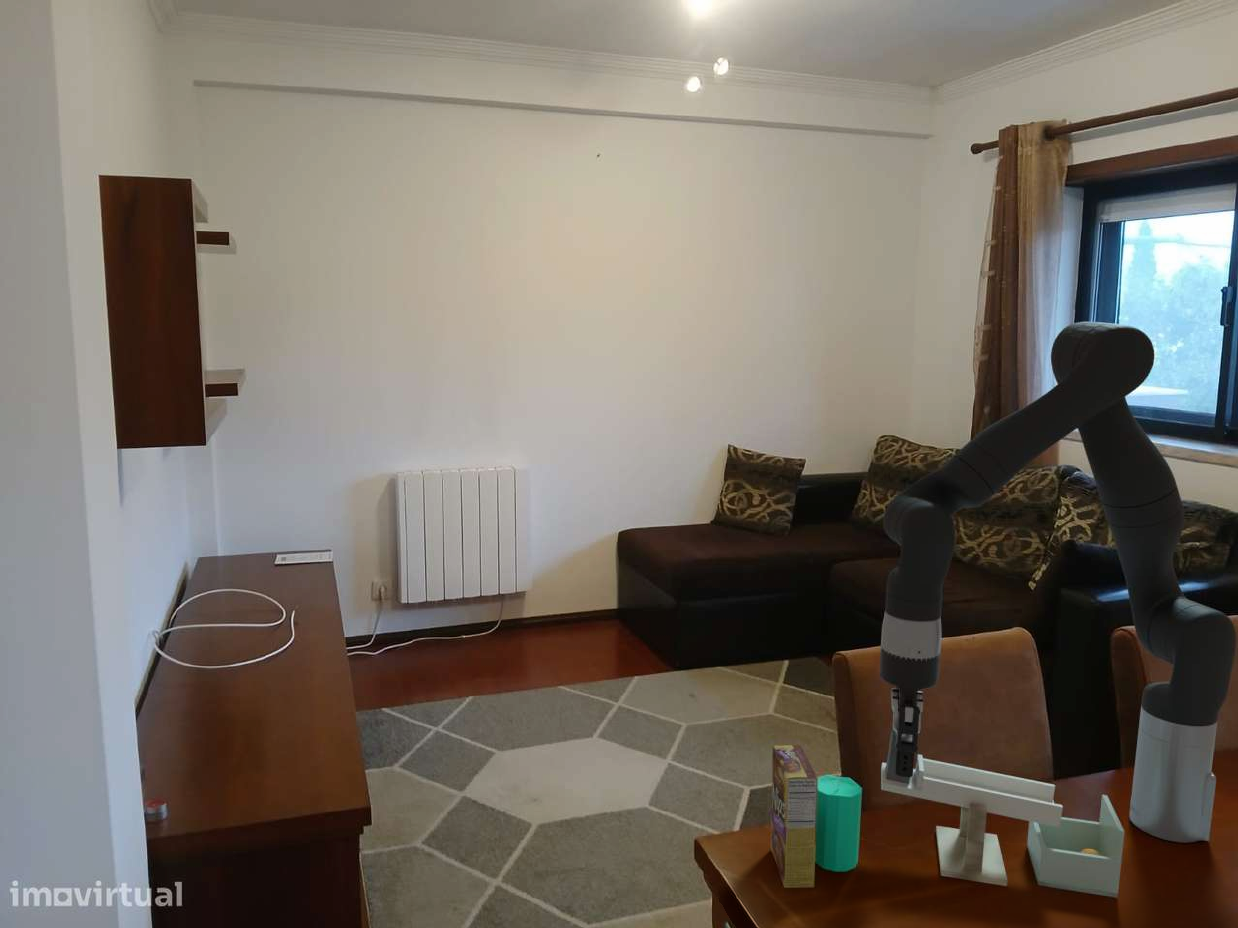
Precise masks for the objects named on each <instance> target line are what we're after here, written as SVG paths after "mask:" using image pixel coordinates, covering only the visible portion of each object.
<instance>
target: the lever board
mask: <svg viewBox="0 0 1238 928" xmlns="http://www.w3.org/2000/svg"><path fill="white" fill-rule="evenodd" d="M896 735H897V733H896V732H895V731H894V730H893V726H892V727H891V731H890V737H889V743H888V744H889V745H888V751H887V758H886V760H887V761H886V762H882V763H881V769H880V774H881V776H880V778H881V779H880V780H881V782H880V785H881V786H880V788H881V789H880V790H881V791H886V792H890V793H895V794H899V795H905V796H908V797H914V798H919V799H923V800H927V801H928V800H929V801H933V802H937V803H943V804H947V805H952V806H956V807H960V808H961V807H965V808H969V803H974V804H981V805H986V808H987V813H988V814H989V813H990V814H994V815H999V816H1003V817H1007V818H1013V819H1017V820H1023V821H1027V822H1029V821H1031V822H1036V823H1040V824H1045V825H1050V826H1055V827H1059V826H1060V820H1061V817H1062V815H1063V814H1062V813H1063V809H1064V807H1063V804H1059V803H1055V801H1054V796H1055V795H1054V794H1055V791H1056V790H1055V789H1056V785H1055V784H1052V783H1048V782H1044V781H1043V782H1042V781H1037V780H1033V779H1027V778H1023V777H1017V776H1013V775H1008V774H1002V773H997V772H994V771H988V770H984V769H979V768H973V767H969V766H963V765H958V764H954V763H948V762H943V761H939V760H935V759H934V760H933V759H928V758H923V754H917V758H916V763H915V764H916V765H915V768H913V776H912V777H902V776H897V775H896V773H895V766H896V750H897V749H896V746H895V742H896ZM901 740H905V741H912V735H910V734H902V736H901Z"/></svg>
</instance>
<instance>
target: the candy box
mask: <svg viewBox="0 0 1238 928" xmlns="http://www.w3.org/2000/svg"><path fill="white" fill-rule="evenodd" d="M771 761H772V762H771V763H772V766H771V767H772V769H771V770H772V775H771V776H772V777H771V817H770V818H771V819H770V822H771V825H770V826H771V827H770V836H771V837H770V850H771V853H772V855H773V858H774V861H775V863H776V867H777V869H778V874H779V875H780V878H781V882H782V885H783V888H784V889H806V888H807V889H812V888H814V887H815V876H816V875H815V874H816V873H815V868H816V863H815V849H816V819H817V787H818V779H819V777H818V776H817V773H816V772H815V770H814V769H813V767H812V764H811V763H810V761H809V759H808V757H807V755H806V753H805V750H804V748H803V747H802V745H801V744H798V745H796V744H795V745H794V744H792V745H788V744H787V745H773V746H772V760H771Z"/></svg>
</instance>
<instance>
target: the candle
mask: <svg viewBox="0 0 1238 928" xmlns="http://www.w3.org/2000/svg"><path fill="white" fill-rule="evenodd" d="M862 793H863V787H861V786H860V785H859V784H858V783H857V782H855V781H854V780H853V779H851V778H850V777H843V776H841V774H838V776H834V775H829V774H825V775H823V776H822V777H820V778H819V777H818V787H817V819H816V849H815V864H817V865H818V866H819V867H821V868H823V869H824V870H828V871H832V872H848V871H851V870H853V869H855V868H856V867H857V864H858V862H859V847H860V831H861V816H862V815H861V814H862V813H861V812H862V797H863V796H862V795H863V794H862Z"/></svg>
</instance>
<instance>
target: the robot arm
mask: <svg viewBox="0 0 1238 928" xmlns="http://www.w3.org/2000/svg"><path fill="white" fill-rule="evenodd" d="M1050 351H1051V353H1050V364H1051V369H1052V373H1053V376H1054V379H1055V381H1056V383H1057V384H1056V385H1055V386H1053V388H1052V389H1050V390H1049V391H1048V392H1046V393H1045V394H1043V395H1042V396H1040V397H1039V398H1037V399H1036V400H1034V401H1032V402H1031V403H1028V404H1027V405H1025V406H1024V407H1022V408H1020V409H1018V410H1016V411H1015V412H1012V413H1011V414H1009V415H1007V416H1004V417H1002V418H1001V419H999V420H998V421H995V422H994V423H992V424H991V425H989V426H988V427H986V428H984V429H983V430H982V431H981V432H979V433H977V434H976V435H975V436H974V437H973V438H972V439H970V441H968V442H967V443H966V444H965V445H964V446H963V447H962V448H961V449H959V450H958V451H957V452H956V453H955V454H954V455H953V456H952V457H951V458H950V459H948V460H947V461H946V463H944V464H943V465H942V466H941V467H939V468H938V469H936V470H934V471H932V472H930V473H928V474H926V475H925V476H924V477H922V478H920V479H919V480H917V481H916V482H914V483H913V484H911V485H909V486H908V487H907V488H905V489H903V490H902V491H901V492H900V493H899V494H897V496H895V497H894V498H893V499H892V500H891V502H890V503H889V505H888V506H887V507H886V509H885V512H884V515H883V520H882V521H883V522H882V523H883V529H884V531H885V533H886V535H887V536H888V538H889V539H891V540H892V541H893V542H894V543H896V544H897V545H899V546H900V556H899V562H898V567H895V568H893V569H892V570H891V571H890V572H889V574H888V577H887V581H886V591H885V607H884V616H883V621H882V627H881V636H880V637H881V638H880V639H881V640H880V653H879V654H880V655H879V656H880V657H879V673H878V674H879V677H880V678H881V680H883V681H884V682H885V683H887V684H888V685H890V686H895V687H892V688H891V695H890V696H891V697H890V698H891V699H890V700H891V711H892V712H893V714H892V727H893V730H894V731H895V732H896V733H897V735H896V742H895V746H896V749H897V750H896V766H895V773H896V775H897V776H902V777H912V776H913V769H914V768H915V767H914V766H915V764H914V763H915V762H914V761H915V754H917V752H918V750H919V746H918V737H919V734H920V732H921V726H922V725H921V723H922V713H923V710H924V698H923V691H921V690H928V689H931V688H933V687H935V686H936V685H937V684H938V682H939V677H940V676H939V675H940V662H941V661H940V660H941V659H940V658H941V647H942V646H941V645H942V619H941V617H942V605H943V604H942V603H943V602H942V601H943V585H944V581H945V579H946V578H947V574H948V572H949V568H950V565H951V562H952V558H953V554H954V551H955V548H956V547H955V546H956V541H957V539H956V537H957V535H956V534H957V533H956V524H955V522H954V517H953V515H955V514H956V513H958V511H961V510H963V509H971V508H972V509H973V508H978V507H980V506H982V505H983V504H985V503H986V502H987V501H989V500H991V498H992V497H993V496H995V494H997V493H998V492H999V491H1001V489H1002V488H1004V486H1006V485H1007V484H1008V483H1009V482H1010V481H1011V480H1012V479H1014V478H1015V476H1017V475H1018V474H1019V473H1020V472H1021V471H1022V470H1023V469H1026V467H1027V466H1028V465H1029V464H1030V463H1032V462H1033V461H1034V460H1035V459H1037V458H1038V457H1039V456H1041V455H1042V454H1043V453H1045V452H1046V451H1048V449H1050V448H1052V446H1054V445H1055V444H1056V443H1058V442H1059V441H1061V440H1062V439H1064V438H1066V436H1068V435H1069V434H1071V433H1073V432H1074V431H1075V430H1078V433H1079V435H1080V439H1081V442H1082V445H1083V448H1084V451H1085V455H1086V457H1087V460H1088V463H1089V464H1088V465H1089V467H1090V470H1091V473H1092V475H1093V478H1094V482H1095V485H1096V489H1097V493H1098V496H1099V500H1100V503H1101V506H1102V509H1103V512H1104V515H1105V519H1106V522H1107V525H1108V527H1109V529H1110V533H1111V535H1112V538H1113V541H1114V545H1115V548H1116V552H1117V555H1118V559H1119V562H1120V564H1121V568H1122V571H1123V575H1124V578H1125V579H1124V580H1125V583H1126V588H1127V592H1128V598H1129V604H1130V609H1131V610H1130V611H1131V615H1132V620H1133V625H1134V630H1135V633H1136V636H1137V639H1138V641H1139V642H1140V644H1141V646H1142V647H1143V648H1144V649H1145V650H1146V651H1147V652H1148V653H1150V654H1151V655H1152V656H1155V657H1156V658H1158V659H1161V660H1162V661H1165V662H1167V663H1169V664H1172V665H1173V667H1172V673H1171V677H1170V681H1157V682H1152V683H1149V684H1147V685H1146V686H1145V687H1144V689H1143V691H1142V695H1141V696H1142V697H1141V707H1140V714H1139V723H1138V724H1139V725H1138V732H1137V734H1138V735H1137V740H1136V741H1137V744H1136V751H1135V761H1134V771H1133V779H1132V787H1131V797H1130V804H1129V807H1130V809H1129V815H1128V816H1129V820H1130V821H1131V823H1132V824H1133V825H1134V826H1135V827H1136V828H1138V829H1139V830H1140V831H1142V832H1144V833H1146V834H1148V835H1151V836H1153V837H1155V838H1158V839H1162V840H1165V841H1169V842H1170V841H1171V842H1175V843H1176V842H1177V843H1185V844H1186V843H1194V842H1198V841H1205V842H1209V840H1210V833H1211V832H1210V831H1211V827H1212V826H1211V823H1212V816H1213V809H1214V800H1215V792H1216V784H1217V776H1216V775H1215V774H1214V773H1213V771H1212V767H1213V759H1214V752H1215V744H1216V734H1217V729H1218V728H1217V727H1218V718H1219V713H1220V710H1221V708H1222V707H1223V705H1224V703H1225V701H1226V699H1227V695H1228V692H1229V686H1230V682H1231V677H1232V671H1233V667H1234V666H1233V665H1234V660H1235V657H1236V655H1235V654H1236V650H1237V649H1236V648H1237V633H1236V628H1235V624H1234V622H1233V621H1232V620H1231V618H1230V617H1229V616H1228V615H1227V614H1225V613H1223V612H1222V611H1220V610H1217V609H1215V608H1211V607H1210V606H1207V605H1204V604H1201V603H1200V602H1199V603H1198V602H1196V601H1194V600H1190V599H1188V598H1187V597H1186V596H1185V595H1184V593H1183V591H1182V588H1181V586H1180V584H1179V582H1178V579H1177V575H1176V571H1175V568H1174V567H1175V566H1174V555H1175V552H1176V549H1177V547H1178V544H1179V543H1180V542H1179V541H1180V539H1181V537H1182V534H1183V531H1184V526H1185V519H1186V518H1185V517H1186V516H1185V510H1184V506H1183V502H1182V498H1181V495H1180V491H1179V488H1178V485H1177V481H1176V479H1175V476H1174V474H1173V471H1172V469H1171V467H1170V465H1169V463H1168V461H1167V460H1166V459H1165V457H1164V455H1163V454H1162V453H1161V451H1160V450H1159V449H1158V448H1157V446H1156V445H1155V444H1154V442H1153V441H1152V440H1151V439H1150V437H1149V436H1148V435H1147V433H1146V432H1145V431H1144V430H1143V428H1142V427H1141V425H1140V423H1139V422H1137V421H1138V420H1136V418H1135V417H1134V415H1133V413H1132V411H1131V409H1130V407H1129V404H1128V402H1127V399H1126V397H1127V396H1128V395H1130V394H1131V393H1133V392H1134V391H1135V390H1136V389H1138V388H1139V387H1140V386H1141V385H1142V384H1144V382H1145V381H1146V380H1147V378H1148V377H1149V375H1150V374H1151V371H1152V369H1153V366H1154V364H1155V363H1154V362H1155V349H1154V345H1153V342H1152V340H1151V338H1150V337H1149V336H1148V335H1147V334H1146V333H1145V332H1144V331H1142V330H1141V329H1139V328H1137V327H1134V326H1131V325H1127V324H1120V323H1112V322H1101V321H1080V322H1079V321H1078V322H1074V323H1072V324H1069V325H1067V326H1065V327H1064V328H1063V329H1062V330H1061V331H1060V332H1059V333H1058V334H1057V336H1056V338H1055V339H1054V342H1053V343H1052V347H1051V350H1050ZM902 734H910V735H912V741H905V740H901V736H902Z"/></svg>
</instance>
